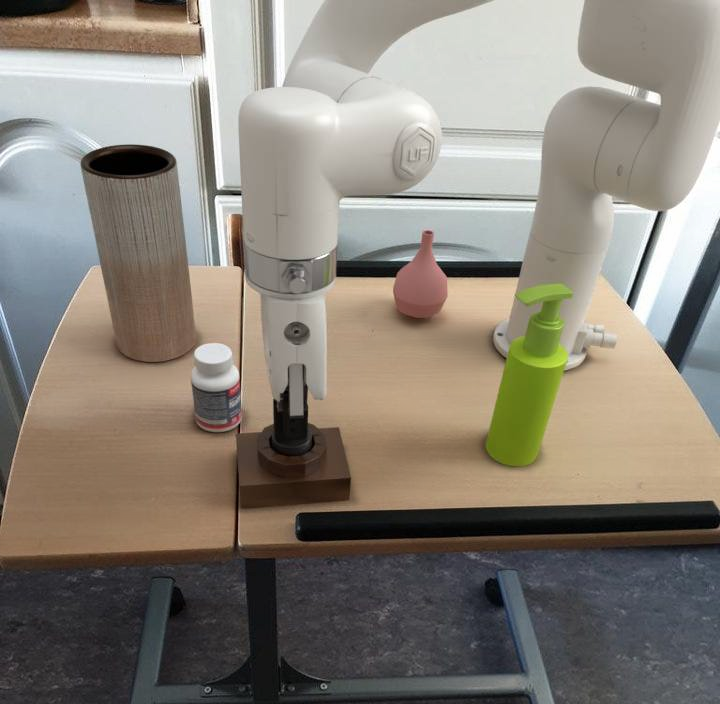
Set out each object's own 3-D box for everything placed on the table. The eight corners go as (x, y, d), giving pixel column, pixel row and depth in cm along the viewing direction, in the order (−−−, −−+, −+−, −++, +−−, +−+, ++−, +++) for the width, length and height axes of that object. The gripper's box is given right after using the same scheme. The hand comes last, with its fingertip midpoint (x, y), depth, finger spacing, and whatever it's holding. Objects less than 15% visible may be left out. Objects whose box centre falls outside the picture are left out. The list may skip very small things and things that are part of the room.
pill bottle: (238, 435, 79) (233, 368, 72) (191, 432, 78) (183, 365, 72) (245, 406, 82) (241, 341, 76) (200, 403, 82) (193, 337, 76)
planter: (198, 360, 88) (177, 176, 73) (115, 365, 87) (75, 177, 71) (195, 319, 96) (175, 143, 80) (118, 323, 94) (83, 143, 78)
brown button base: (337, 449, 78) (339, 413, 74) (349, 500, 72) (352, 464, 69) (237, 456, 76) (234, 419, 73) (241, 508, 70) (238, 472, 67)
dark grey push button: (309, 436, 73) (309, 420, 72) (314, 461, 70) (314, 445, 69) (270, 438, 73) (270, 422, 71) (273, 464, 70) (273, 448, 68)
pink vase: (385, 322, 98) (393, 239, 90) (396, 296, 104) (404, 216, 96) (439, 332, 97) (453, 249, 89) (447, 305, 103) (461, 225, 95)
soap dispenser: (468, 440, 80) (503, 279, 67) (519, 428, 83) (563, 270, 69) (494, 473, 77) (538, 309, 63) (547, 459, 79) (600, 298, 65)
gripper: (351, 306, 53) (339, 483, 65) (323, 222, 63) (318, 389, 76) (250, 308, 51) (257, 489, 64) (239, 223, 62) (247, 392, 75)
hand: (290, 434), depth 70 cm, fingers closed
